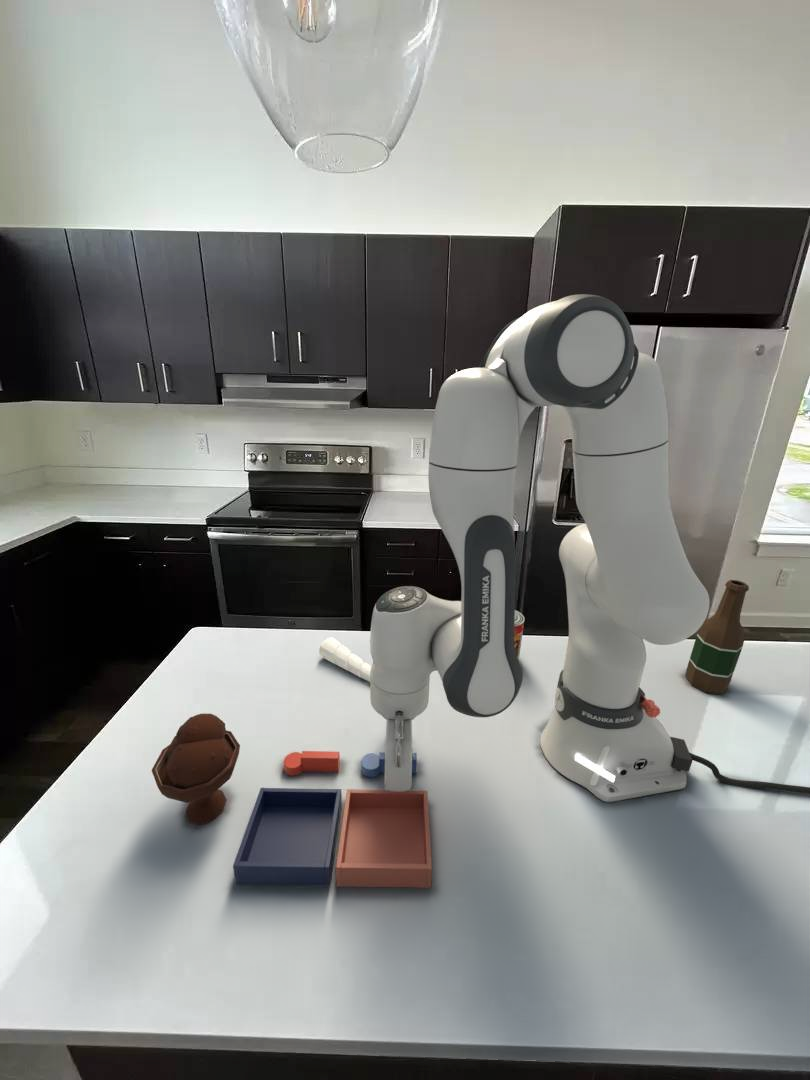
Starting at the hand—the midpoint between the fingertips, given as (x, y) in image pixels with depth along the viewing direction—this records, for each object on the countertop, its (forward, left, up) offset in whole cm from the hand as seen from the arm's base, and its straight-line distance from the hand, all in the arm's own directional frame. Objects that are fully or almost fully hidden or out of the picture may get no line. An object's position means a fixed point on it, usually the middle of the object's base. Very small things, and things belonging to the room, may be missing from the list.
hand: (398, 760), depth 69 cm
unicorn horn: (+8, -24, -2) cm, 25 cm away
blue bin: (+14, +12, -2) cm, 19 cm away
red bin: (+2, +12, -2) cm, 12 cm away
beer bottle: (-66, -23, -2) cm, 70 cm away
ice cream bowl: (+28, +7, -2) cm, 29 cm away
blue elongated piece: (+2, 0, -2) cm, 2 cm away
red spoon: (+14, 0, -2) cm, 14 cm away
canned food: (-23, -29, -2) cm, 37 cm away
